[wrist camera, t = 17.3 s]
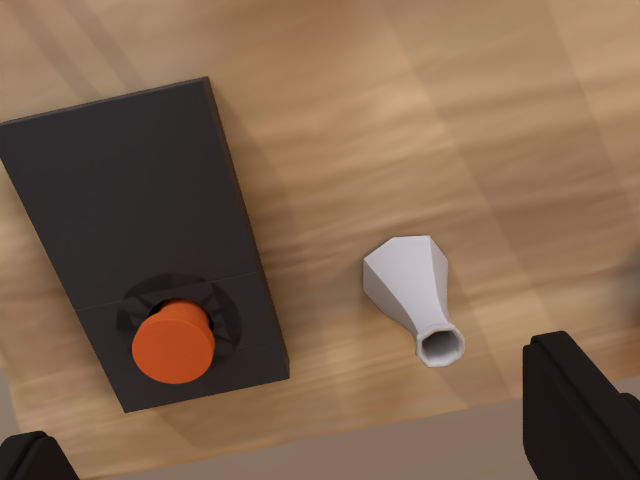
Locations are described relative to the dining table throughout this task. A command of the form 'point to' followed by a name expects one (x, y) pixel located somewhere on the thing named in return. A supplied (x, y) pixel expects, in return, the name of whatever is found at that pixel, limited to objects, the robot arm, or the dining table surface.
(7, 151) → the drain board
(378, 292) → the flask
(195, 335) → the stopper
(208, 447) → the dining table surface
